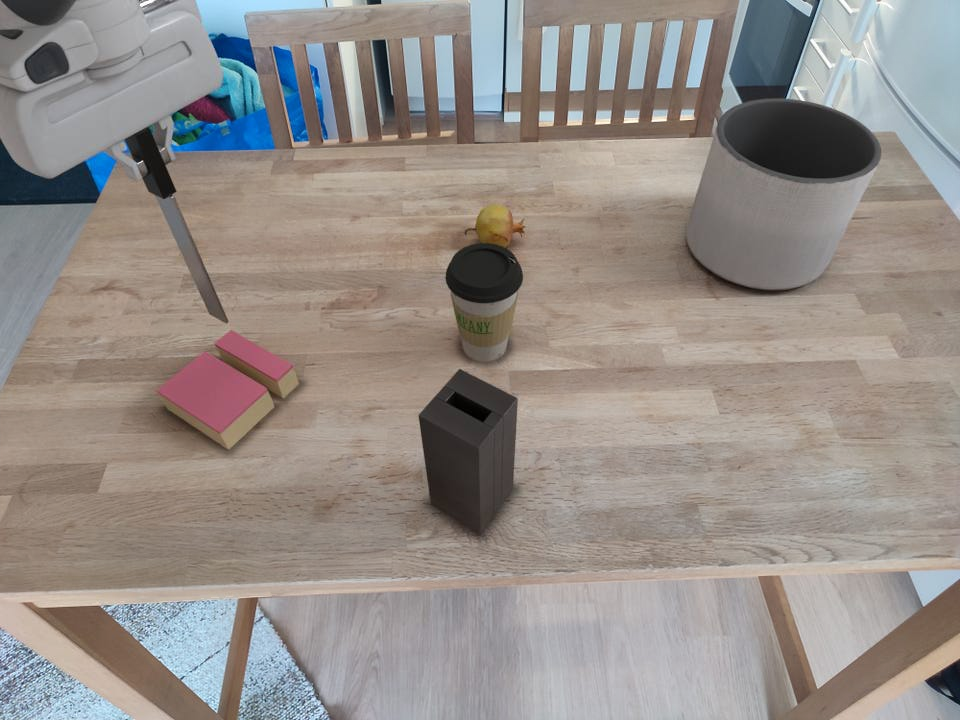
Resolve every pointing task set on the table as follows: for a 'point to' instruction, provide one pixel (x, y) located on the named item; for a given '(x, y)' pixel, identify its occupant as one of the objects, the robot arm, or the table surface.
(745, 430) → the table surface
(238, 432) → the cake
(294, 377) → the cake slice
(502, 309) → the coffee cup
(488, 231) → the fruit
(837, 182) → the planter
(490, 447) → the knife block
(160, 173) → the knife
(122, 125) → the robot arm
